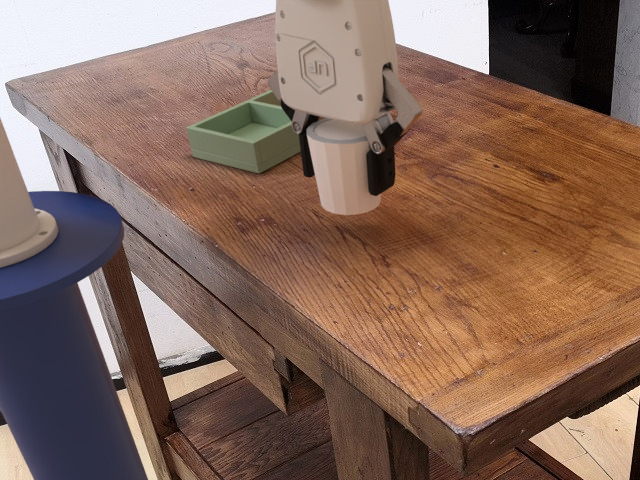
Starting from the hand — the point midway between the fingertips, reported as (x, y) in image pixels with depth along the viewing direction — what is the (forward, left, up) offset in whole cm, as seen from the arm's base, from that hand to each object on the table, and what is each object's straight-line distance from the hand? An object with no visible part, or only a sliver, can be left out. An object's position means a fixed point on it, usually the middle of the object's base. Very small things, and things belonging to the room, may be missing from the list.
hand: (348, 179), depth 77 cm
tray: (+16, +23, -5) cm, 29 cm away
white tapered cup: (0, 0, -2) cm, 2 cm away
